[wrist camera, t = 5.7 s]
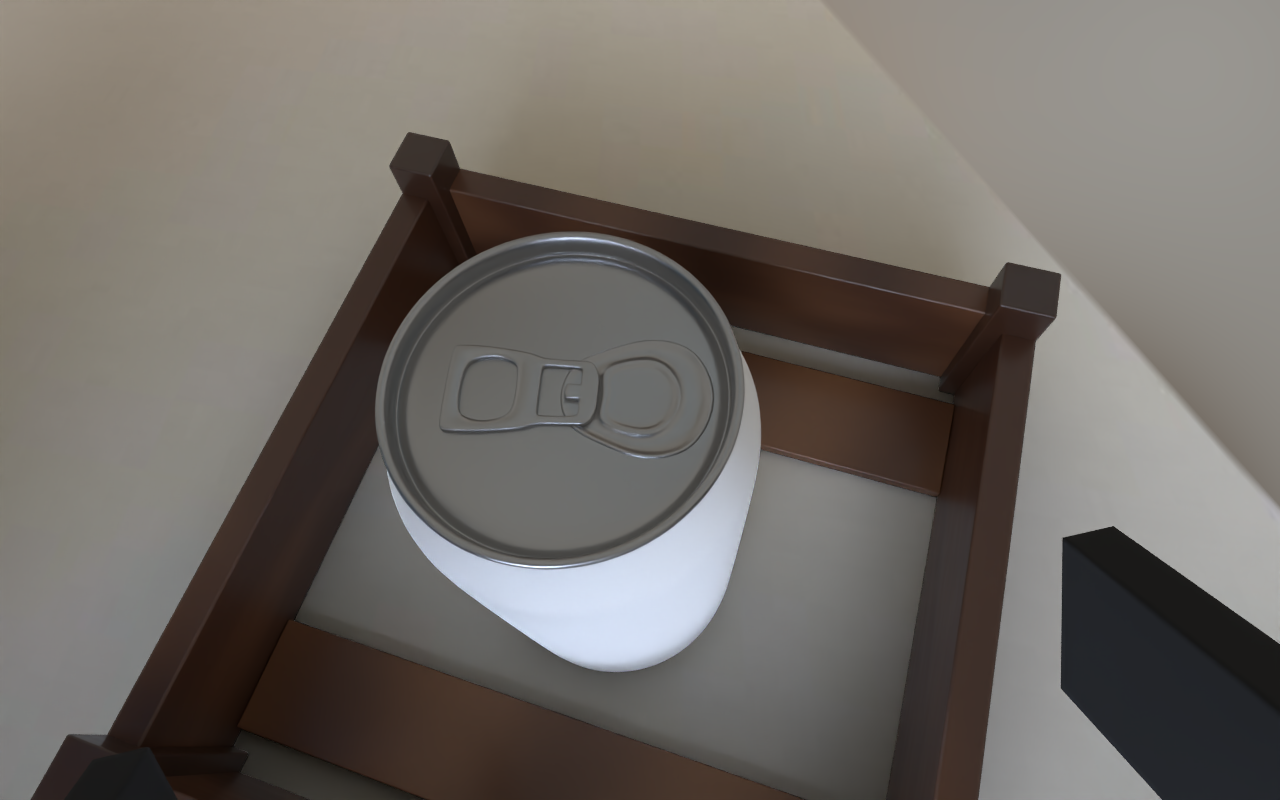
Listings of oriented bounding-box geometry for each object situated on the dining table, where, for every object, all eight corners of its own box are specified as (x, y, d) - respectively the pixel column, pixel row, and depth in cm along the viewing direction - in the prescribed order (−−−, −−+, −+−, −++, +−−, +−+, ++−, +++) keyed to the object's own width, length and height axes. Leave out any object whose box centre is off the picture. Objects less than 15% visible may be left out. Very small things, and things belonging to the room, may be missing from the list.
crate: (179, 789, 20) (26, 803, 16) (455, 236, 28) (407, 130, 23) (881, 1074, 17) (956, 1200, 12) (988, 364, 24) (1062, 272, 20)
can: (726, 682, 21) (775, 615, 10) (495, 666, 21) (297, 585, 10) (731, 460, 23) (774, 213, 13) (525, 450, 24) (393, 204, 13)
